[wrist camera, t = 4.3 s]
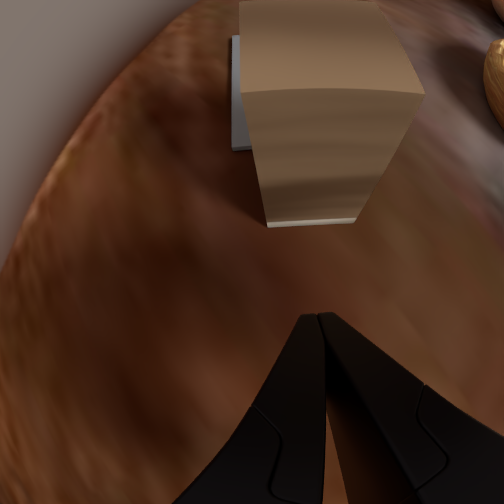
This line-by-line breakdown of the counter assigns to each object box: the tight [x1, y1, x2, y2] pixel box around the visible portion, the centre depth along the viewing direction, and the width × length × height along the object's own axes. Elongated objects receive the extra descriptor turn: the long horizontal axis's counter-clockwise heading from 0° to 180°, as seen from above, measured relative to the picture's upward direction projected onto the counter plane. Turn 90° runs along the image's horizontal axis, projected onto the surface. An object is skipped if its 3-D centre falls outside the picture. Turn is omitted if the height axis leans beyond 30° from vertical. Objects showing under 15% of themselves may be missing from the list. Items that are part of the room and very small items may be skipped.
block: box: [239, 0, 425, 227], centre depth 11 cm, size 4×4×10 cm
